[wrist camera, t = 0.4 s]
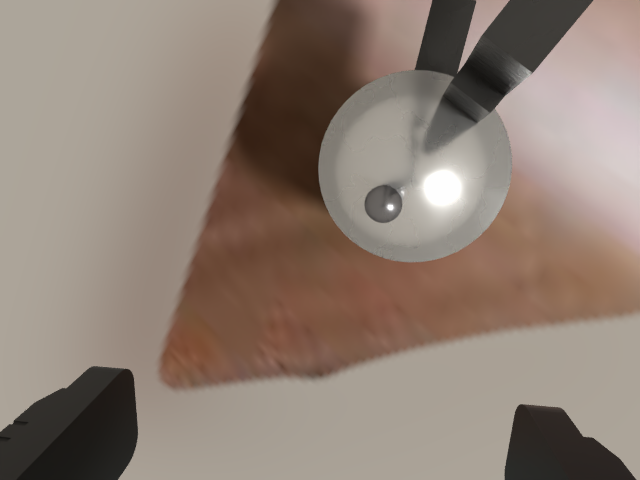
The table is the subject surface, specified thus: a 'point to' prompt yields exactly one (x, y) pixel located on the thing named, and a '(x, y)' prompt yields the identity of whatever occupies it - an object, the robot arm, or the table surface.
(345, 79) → the table surface
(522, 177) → the table surface
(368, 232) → the lid
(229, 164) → the table surface
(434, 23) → the pot
